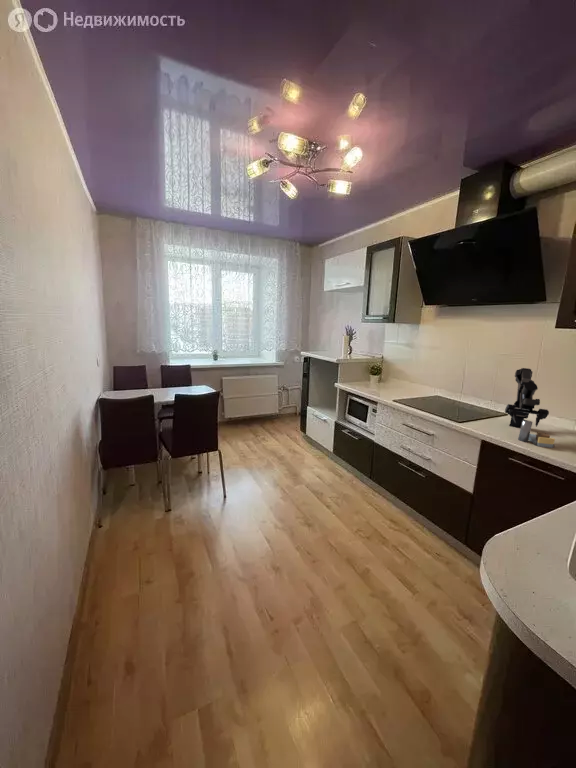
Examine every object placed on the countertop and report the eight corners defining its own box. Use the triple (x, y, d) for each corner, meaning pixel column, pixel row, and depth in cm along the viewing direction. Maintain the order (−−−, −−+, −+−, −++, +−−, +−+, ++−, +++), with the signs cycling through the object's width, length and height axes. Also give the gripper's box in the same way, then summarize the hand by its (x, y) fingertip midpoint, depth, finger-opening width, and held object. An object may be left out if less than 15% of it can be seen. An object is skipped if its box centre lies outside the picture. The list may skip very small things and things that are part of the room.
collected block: (535, 439, 169) (537, 432, 168) (543, 440, 168) (545, 432, 168) (539, 441, 165) (541, 434, 164) (548, 442, 165) (550, 435, 164)
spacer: (517, 440, 171) (521, 421, 169) (518, 438, 174) (522, 419, 172) (527, 442, 168) (532, 423, 166) (528, 440, 171) (532, 421, 169)
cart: (521, 436, 178) (523, 428, 177) (539, 438, 176) (541, 429, 175) (535, 445, 164) (537, 437, 163) (554, 448, 163) (556, 439, 162)
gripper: (510, 390, 176) (509, 413, 168) (552, 395, 167) (553, 420, 160) (505, 400, 184) (504, 423, 177) (545, 406, 176) (545, 430, 169)
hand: (526, 424), depth 170 cm, fingers open, 9 cm apart
